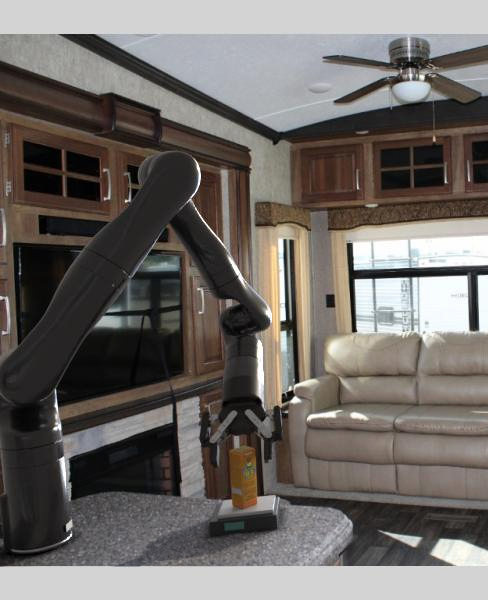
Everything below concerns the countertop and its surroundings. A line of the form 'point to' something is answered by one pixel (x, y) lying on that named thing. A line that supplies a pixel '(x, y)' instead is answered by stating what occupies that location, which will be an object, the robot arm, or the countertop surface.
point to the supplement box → (243, 477)
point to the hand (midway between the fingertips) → (241, 463)
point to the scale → (245, 516)
